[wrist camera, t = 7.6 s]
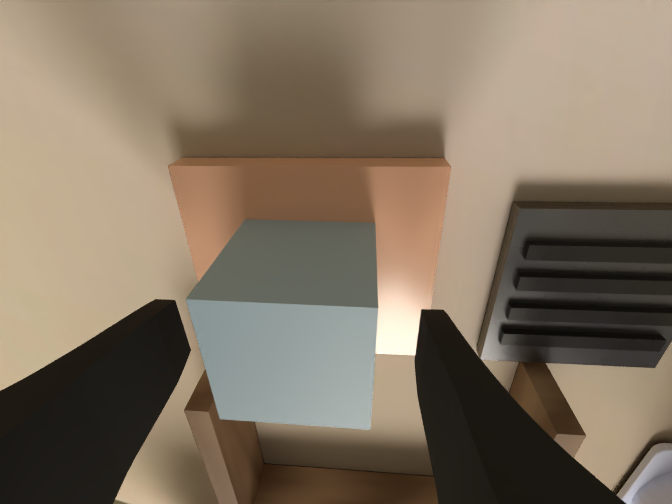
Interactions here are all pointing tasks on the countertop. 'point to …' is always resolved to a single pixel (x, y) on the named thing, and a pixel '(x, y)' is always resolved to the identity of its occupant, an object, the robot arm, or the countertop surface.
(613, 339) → the drain grate
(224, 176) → the terracotta tile
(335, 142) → the countertop surface
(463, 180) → the countertop surface
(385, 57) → the countertop surface
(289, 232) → the slate cube
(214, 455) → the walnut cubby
